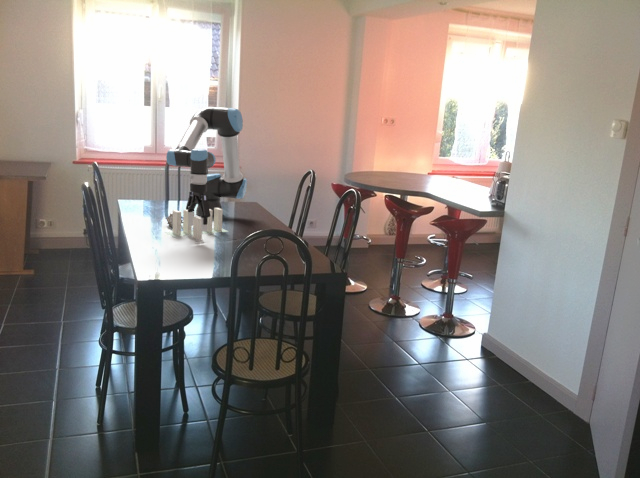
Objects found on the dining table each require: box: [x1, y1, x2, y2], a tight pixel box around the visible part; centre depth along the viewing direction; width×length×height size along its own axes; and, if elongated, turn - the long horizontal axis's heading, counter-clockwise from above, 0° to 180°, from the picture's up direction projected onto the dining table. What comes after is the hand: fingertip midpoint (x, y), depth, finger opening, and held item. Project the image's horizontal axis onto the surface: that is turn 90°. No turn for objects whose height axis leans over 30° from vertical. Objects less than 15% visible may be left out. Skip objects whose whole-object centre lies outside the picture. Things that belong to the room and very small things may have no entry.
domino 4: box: [207, 209, 213, 232], centre depth 292 cm, size 2×5×11 cm, turn 37°
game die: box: [164, 213, 183, 228], centre depth 299 cm, size 9×8×10 cm
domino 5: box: [213, 208, 224, 231], centre depth 295 cm, size 2×5×11 cm, turn 38°
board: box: [164, 227, 230, 237], centre depth 290 cm, size 30×9×1 cm, turn 128°
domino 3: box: [192, 215, 203, 241], centre depth 276 cm, size 2×5×11 cm, turn 38°
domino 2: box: [182, 209, 193, 234], centre depth 285 cm, size 2×5×11 cm, turn 37°
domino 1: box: [172, 209, 182, 235], centre depth 282 cm, size 2×5×11 cm, turn 38°
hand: (197, 228), depth 276 cm, fingers open, 13 cm apart
